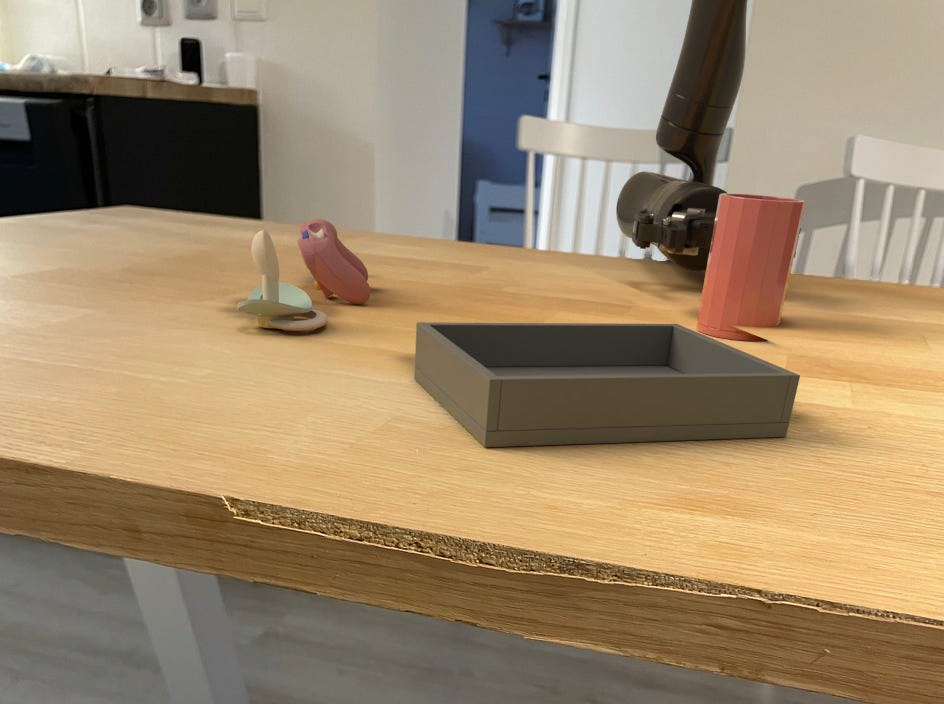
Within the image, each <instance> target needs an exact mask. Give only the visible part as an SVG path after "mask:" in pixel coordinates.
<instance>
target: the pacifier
mask: <svg viewBox="0 0 944 704" xmlns="http://www.w3.org/2000/svg"><path fill="white" fill-rule="evenodd" d="M250 247H251V250H250V251H251V258H252V261H253V263H254V266H255V268H256V269H257V271H258V272H259V274H261V282H262V283H261V284H260V285H257V286H256V287H255V288H254V289H253V290H251V292H250V293H249V294H248V297H247V299H245V300H242V301H239V302H238V303H237V305H236V307H237V311H238V312H240V313H243V314H247V315H252V316H256V319H257V324H258V325H257V326H258V327H259V326H260V327H259V328H265V329H277V330H278V329H279V330H283V331H294V332H295V331H296V332H302V331H304V332H305V331H311V330H316V329H319V328H322V327H324V326H325V325H326V324H328V320H329V316H328V315H327V314H326V313H324V312H323V311H321V310H317V309H313V302H312V299H311V298H310V296H309V295H308V294H307V292H306V291H305V290H303V289H302V288H299V287H298V286H296V285H294V284H291V283H288V282H284V281H283V282H282V281H279V280H280V266H279V259H278V255H277V251H276V248H275V245H274V242H273V239H272V237H271V235H270V233H269V232H268V231H267V230H266V229H261V230H260V231H258V232H257V233H255V235H254V237H253V239H252V242H251V246H250ZM295 318H307V319H303V320H302V319H301V320H295Z"/></svg>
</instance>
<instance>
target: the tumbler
mask: <svg viewBox="0 0 944 704" xmlns="http://www.w3.org/2000/svg"><path fill="white" fill-rule="evenodd" d="M806 204H807V201H806V200H802V199H797V198H791V197H783V196H773V195H763V194H752V193H751V194H749V193H734V192H733V193H731V192H730V193H729V192H727V193H723V194H720V195H719V201H718V206H717V212H716V217H715V223H714V229H713V234H712V240H711V246H710V251H709V257H708V263H707V268H706V270H705V273H704V281H703V286H702V292H701V297H700V303H699V308H698V313H697V319H696V320H697V324H696V329H697V332H699V333H701V334H703V335H706V336H707V335H708V336H711V337H716V338H719V339H726V340H732V341H743V342H744V341H745V342H767V341H769V339H766V338H765V337H764V338H763V337H761V336H759V335H757V334H753V333H751V332H748V331H745V330H744V329H740V328H738V327H739V326H740V327H751V328H769V327H777V326H778V325H780V323H781V318H782V314H783V310H784V309H783V308H784V305H785V299H786V295H787V291H788V286H789V281H790V277H791V274H792V273H791V272H792V267H793V263H794V259H795V258H794V255H795V250H796V251H797V248H796V245H797V246H798V243H797V241H798V242H799V238H798V236H799V237H800V234H799V232H800V228H801V225H802V223H803V222H802V221H803V218H804V212H805V209H806ZM800 233H801V232H800ZM795 256H796V255H795ZM735 326H738V327H735Z"/></svg>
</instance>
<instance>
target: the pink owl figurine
mask: <svg viewBox="0 0 944 704" xmlns="http://www.w3.org/2000/svg"><path fill="white" fill-rule="evenodd" d="M299 233H300V237H299V238H298V239H297V240H296V242H297V243H296V244H297V246H298V248H299V254H300V256H301V258H302V260H303V261H302V262H303V263H304V265H305V267H306V268H307V270H309V273H310V274H311V276H312V278H313V279H314V280H315V281H314V282H313V283H314V286H315V288H316V290H318V291H320V290H321V292H322V294H323V296H324V297H325V298H328V297H330V296H333V295H335V296H337V297H339V298H340V299H342V300H344V301H346V302H347V303H350V304H354V305H364V304H366V303H367V302H368V301H369V300H370V297H371V286H370V284H369V282H368V281H369V273H368V269H367V267H366V266H365V264H364V262H363V261H362V260H361V259H360V258H359V257H358V255H356V254H354V253H353V252H352V251H351V250H350V249H349V248H347V246H346V245H344V243H343V242H342V241H341V240H340V239H339V238H338V232H337V229H336V227H335V226H334V224H333V223H332V222H330V221H329V220H326V219H324V218H312V219H309V220H307V221H303V222H302V223H300V224H299Z"/></svg>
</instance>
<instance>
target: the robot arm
mask: <svg viewBox="0 0 944 704" xmlns="http://www.w3.org/2000/svg"><path fill="white" fill-rule="evenodd" d="M747 8H748V0H691V4H690V10H689V15H688V19H687V25H686V28H685V33H684V36H683V41H682V45H681V50H680V53H679V56H678V59H677V63H676V67H675V69H674V74H673V76H672V80H671V83H670V86H669V89H668V92H667V96H666V99H665V102H664V104H663V109H662V113H661V115H660V119H659V121H658V124H657V128H656V132H655V142H656V145H657V147H658V148H659V149H660V150H661V151H662V152H664V153H666V154H667V155H668V156H670V157H672V158H674V159H676V160H678V161H680V162H682V163H683V164H685V166H687V167H688V168H689V176H688V179H683V178H677V177H674V176H670V175H665V174H661V173H657V172H652V171H645V170H644V171H643V170H642V171H639V172H637V173H635V174H633V175H631V176H630V178H629V179H627V181H626V182H625V183H624V185H623V186H622V188H621V190H620V191H619V193H618V194H619V195H618V198H617V201H616V207H615V209H616V210H615V215H616V222H617V225H618V228H619V230H620V231H621V233H622V234H623V235H624V236H625V237H627V238H629V239H631V242H632V243H633V244H634V245H635V246H636V247H638V248H639V249H642V250H646V249H647V248H651V245H654V246H655V247H656V248H657V249H658V251H659V252H660V253H661V254H662V255H663V256H664V257H665V258H667V259H668V260H670V261H671V262H672V263H674V264H675V265H677V266H678V267H680V268H682V269H684V270H688V271H693V272H701V271H706V268H707V263H708V257H709V251H710V246H711V240H712V234H713V229H714V223H715V217H716V212H717V206H718V201H719V195H720V194H723V193H728V191H726V190H724V189H723V188H720V187H719V186H718V187H717V186H715V185H714V178H715V170H716V165H717V159H718V155H719V150H720V146H721V144H722V140H723V137H724V135H725V131H726V129H727V127H728V123H729V121H730V118H731V115H732V112H733V109H734V105H735V103H736V101H737V98H738V95H739V92H740V89H741V85H742V81H743V75H744V70H745V64H746V53H747V52H746V51H747V49H746V48H747V12H748V11H747V10H748V9H747ZM801 232H802V228H801V227H800V232H799V236H798V239H800V235H801ZM798 242H799V240H798V241H797V245H796V250H795V255H794V259H795V258H796V254H797V247H798Z"/></svg>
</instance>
